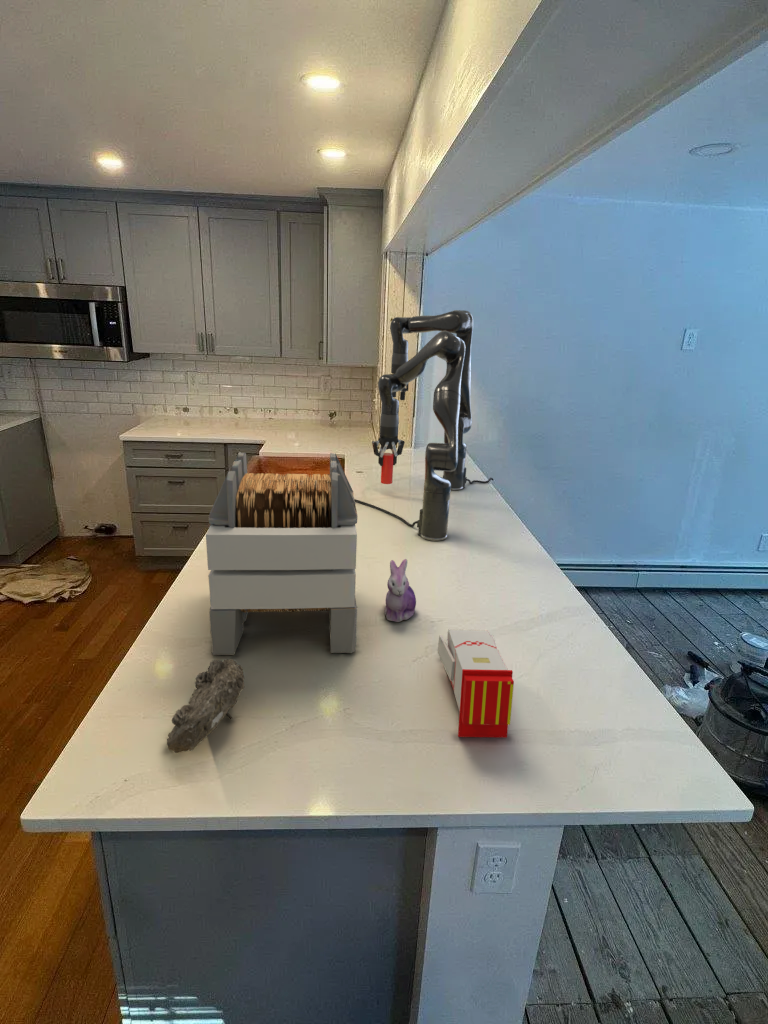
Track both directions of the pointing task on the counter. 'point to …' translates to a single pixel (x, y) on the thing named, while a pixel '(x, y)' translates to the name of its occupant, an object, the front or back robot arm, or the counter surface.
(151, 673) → the counter surface
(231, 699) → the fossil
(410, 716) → the counter surface
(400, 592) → the figurine
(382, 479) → the canister
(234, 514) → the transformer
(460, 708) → the toy
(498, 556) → the counter surface
